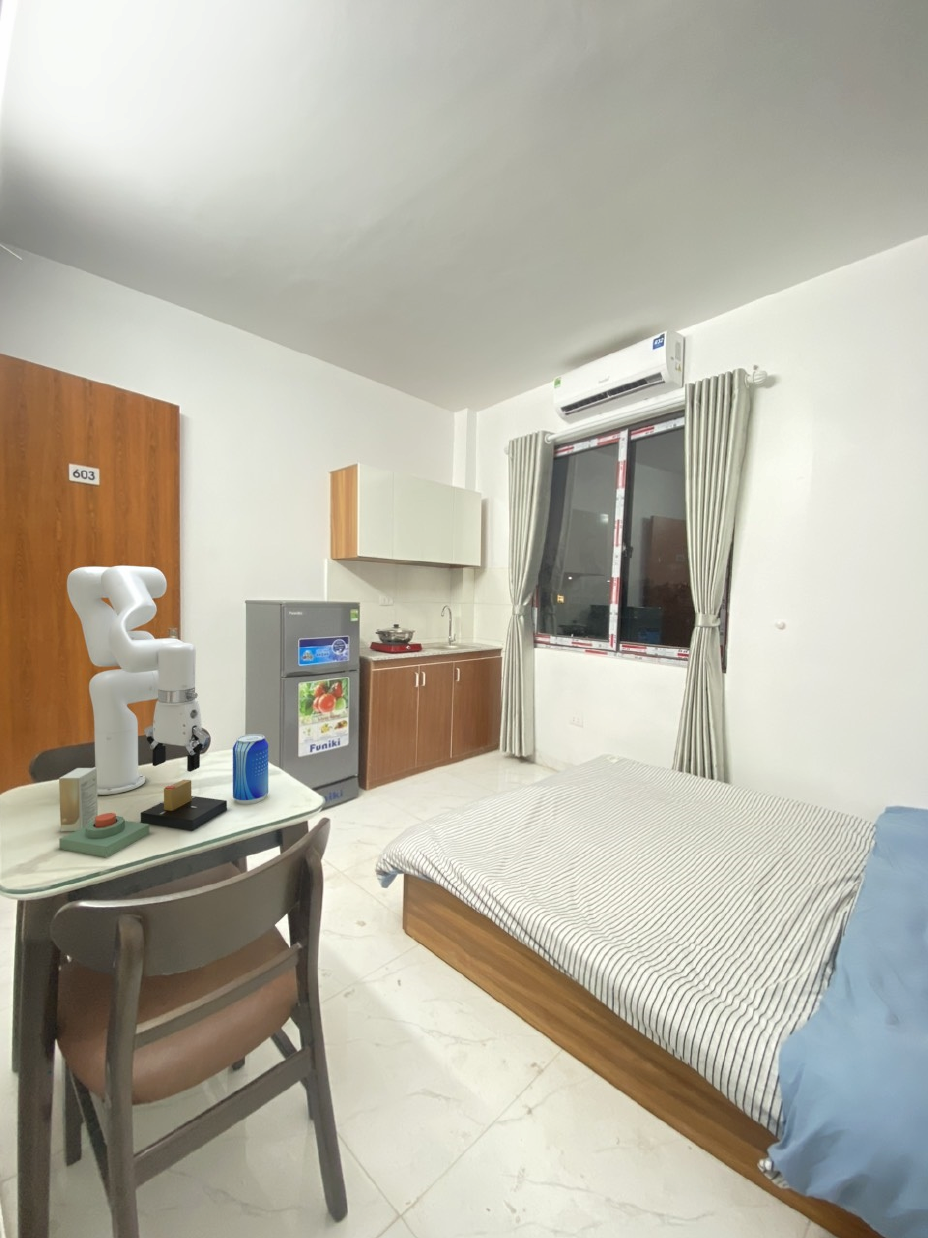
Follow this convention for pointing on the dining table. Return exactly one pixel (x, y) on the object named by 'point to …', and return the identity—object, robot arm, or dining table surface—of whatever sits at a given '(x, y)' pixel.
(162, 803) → the base
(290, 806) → the dining table surface
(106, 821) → the button
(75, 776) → the cosmetic box
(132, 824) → the button block
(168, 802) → the tap handle
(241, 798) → the beer can
